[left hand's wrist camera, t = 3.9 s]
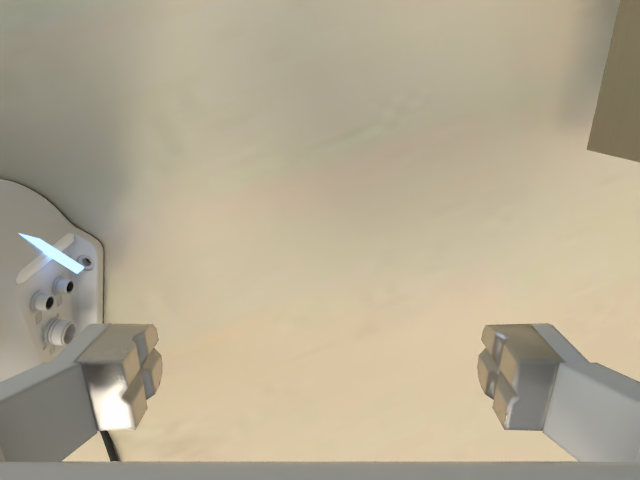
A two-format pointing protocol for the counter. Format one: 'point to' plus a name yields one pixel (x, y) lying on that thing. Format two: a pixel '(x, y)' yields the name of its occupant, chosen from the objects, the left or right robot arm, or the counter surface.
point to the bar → (620, 90)
